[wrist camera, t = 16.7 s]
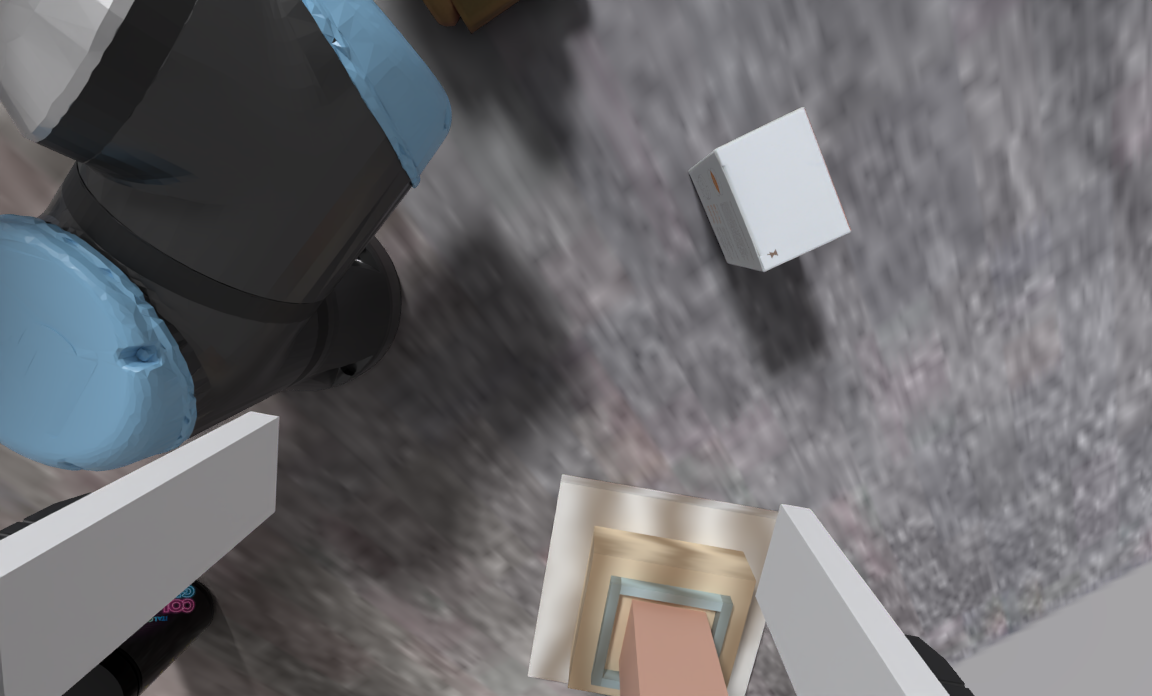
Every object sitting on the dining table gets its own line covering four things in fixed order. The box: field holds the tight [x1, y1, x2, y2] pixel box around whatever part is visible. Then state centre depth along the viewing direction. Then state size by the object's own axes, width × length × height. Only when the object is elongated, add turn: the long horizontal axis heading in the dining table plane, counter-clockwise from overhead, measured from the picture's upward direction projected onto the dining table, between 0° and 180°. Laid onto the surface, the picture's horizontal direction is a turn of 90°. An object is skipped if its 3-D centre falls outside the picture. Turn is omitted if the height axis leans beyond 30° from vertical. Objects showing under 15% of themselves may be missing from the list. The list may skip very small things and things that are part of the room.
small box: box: [689, 107, 851, 272], centre depth 36 cm, size 8×6×10 cm
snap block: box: [619, 599, 728, 696], centre depth 38 cm, size 6×6×11 cm
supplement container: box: [62, 580, 214, 696], centre depth 47 cm, size 7×7×10 cm
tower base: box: [528, 474, 778, 696], centre depth 46 cm, size 20×20×6 cm
